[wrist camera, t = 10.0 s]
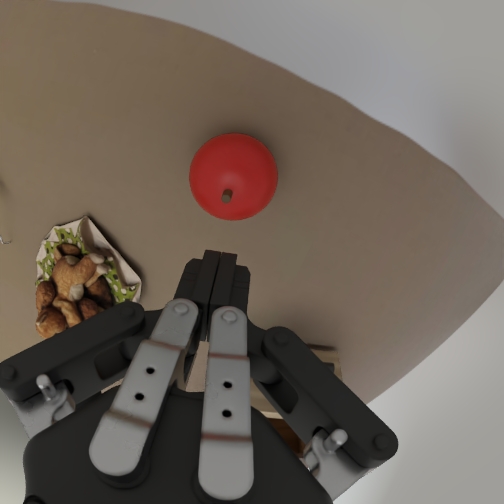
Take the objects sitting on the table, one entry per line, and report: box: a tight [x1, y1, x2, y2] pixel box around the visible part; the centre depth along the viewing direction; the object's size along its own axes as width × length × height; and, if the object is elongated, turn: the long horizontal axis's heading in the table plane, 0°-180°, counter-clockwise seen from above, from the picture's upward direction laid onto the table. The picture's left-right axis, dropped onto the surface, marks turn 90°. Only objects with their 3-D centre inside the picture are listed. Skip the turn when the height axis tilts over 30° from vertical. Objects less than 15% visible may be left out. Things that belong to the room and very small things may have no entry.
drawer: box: [250, 350, 343, 453], centre depth 33 cm, size 18×11×9 cm, turn 170°
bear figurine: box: [35, 215, 141, 339], centre depth 27 cm, size 14×15×12 cm
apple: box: [189, 133, 278, 220], centre depth 21 cm, size 6×6×7 cm
